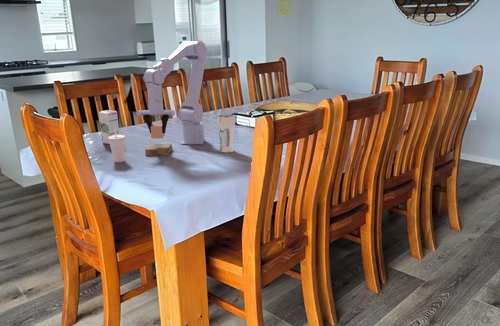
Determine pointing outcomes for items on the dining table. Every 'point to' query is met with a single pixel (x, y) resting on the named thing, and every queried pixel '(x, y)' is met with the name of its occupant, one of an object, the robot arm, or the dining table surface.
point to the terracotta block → (156, 131)
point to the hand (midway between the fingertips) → (157, 133)
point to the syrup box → (108, 124)
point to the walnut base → (158, 149)
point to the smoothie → (117, 146)
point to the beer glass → (226, 132)
